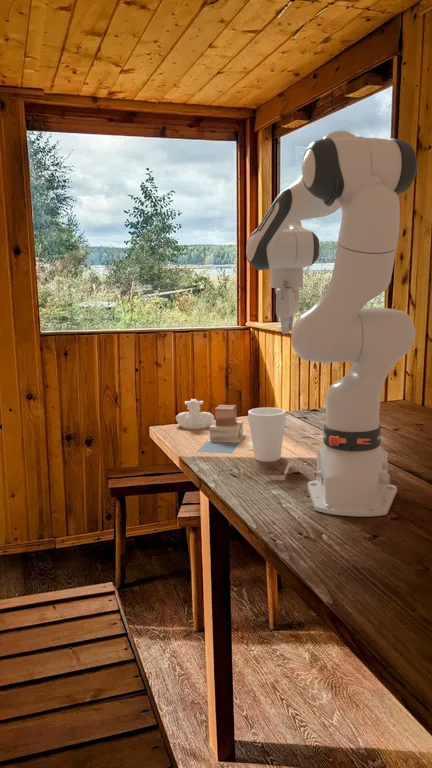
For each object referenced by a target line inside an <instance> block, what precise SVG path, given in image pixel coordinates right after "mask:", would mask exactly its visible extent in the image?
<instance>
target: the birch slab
mask: <svg viewBox="0 0 432 768" xmlns="http://www.w3.org/2000/svg"><path fill="white" fill-rule="evenodd" d="M243 423H244V421H243V420H237V422H236V423H235V425H234V426H216V420H214V422H213V424H212V425H211V426H210V427H209V438H210V441H236V442H238V440H239V439H240V438H241V436H242V435H243V434H244V427H243V426H244V424H243Z"/></svg>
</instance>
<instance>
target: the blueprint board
mask: <svg viewBox="0 0 432 768" xmlns="http://www.w3.org/2000/svg"><path fill="white" fill-rule="evenodd" d="M246 435H247V434H246V433H243V435H242V436H241V438H240V439H239V440H238V442H236V441H210V437H209V438H208V439H207V441H205V442H204V443H203V444H202V446H201V447H200V448H198V450H197V451H196V452H197V453H208V454H209V453H210V454H211V453H213V454H214V453H215V454H233V453H234V451H235V450H236V448H237V447H238V446H239V445H240V443H241V442H242V441H243V439H244V438H245V437H246Z"/></svg>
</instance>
